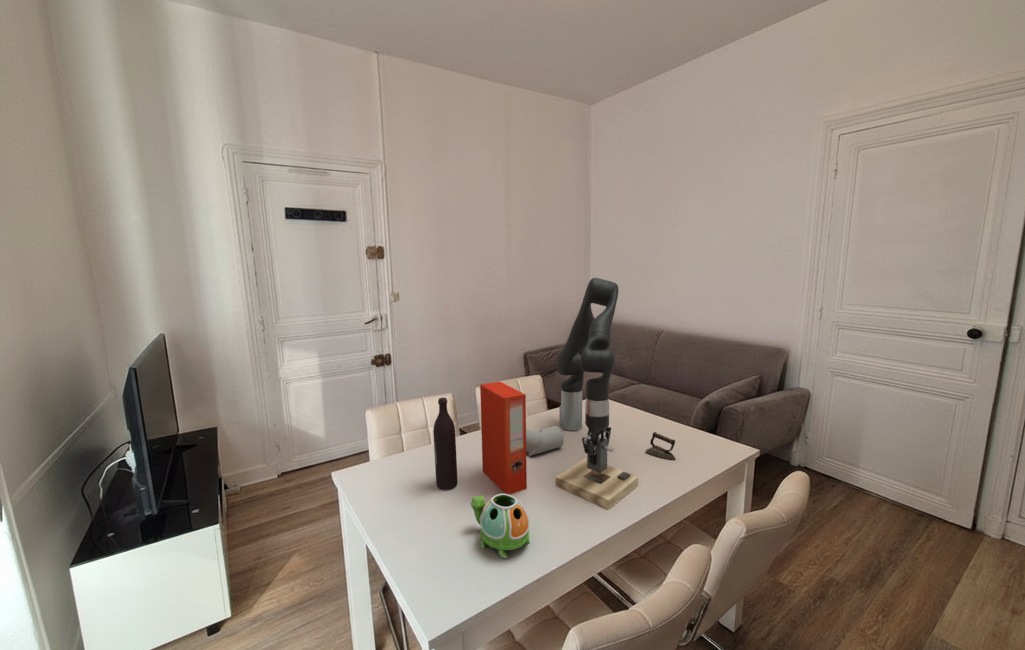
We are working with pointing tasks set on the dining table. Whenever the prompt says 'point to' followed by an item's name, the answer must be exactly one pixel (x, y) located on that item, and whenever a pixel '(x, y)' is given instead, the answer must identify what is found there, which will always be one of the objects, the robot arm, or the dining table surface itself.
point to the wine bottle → (445, 449)
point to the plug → (600, 456)
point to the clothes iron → (660, 451)
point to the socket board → (597, 483)
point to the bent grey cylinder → (543, 440)
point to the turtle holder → (501, 522)
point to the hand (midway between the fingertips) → (596, 461)
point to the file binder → (504, 436)
